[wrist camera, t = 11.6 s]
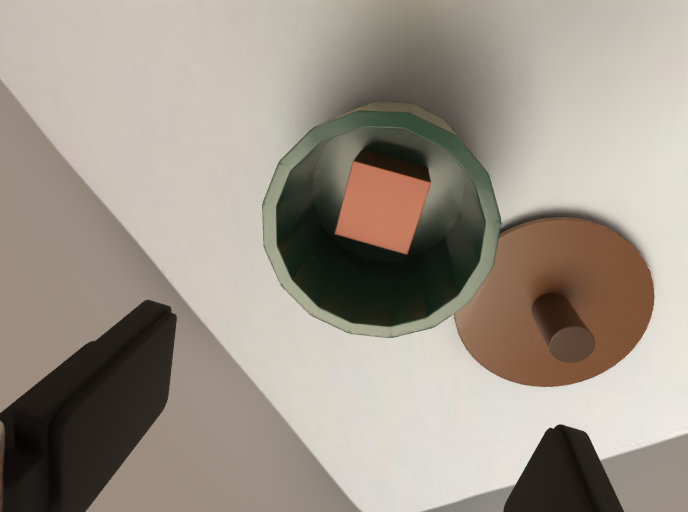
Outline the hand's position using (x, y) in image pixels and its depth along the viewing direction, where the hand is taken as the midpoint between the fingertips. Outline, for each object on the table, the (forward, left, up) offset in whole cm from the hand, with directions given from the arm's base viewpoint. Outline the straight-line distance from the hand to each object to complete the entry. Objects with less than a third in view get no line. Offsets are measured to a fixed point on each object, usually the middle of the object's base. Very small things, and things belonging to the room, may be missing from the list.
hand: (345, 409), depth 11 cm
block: (0, 0, -24) cm, 24 cm away
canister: (0, 0, -25) cm, 25 cm away
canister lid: (-13, +8, -24) cm, 28 cm away
